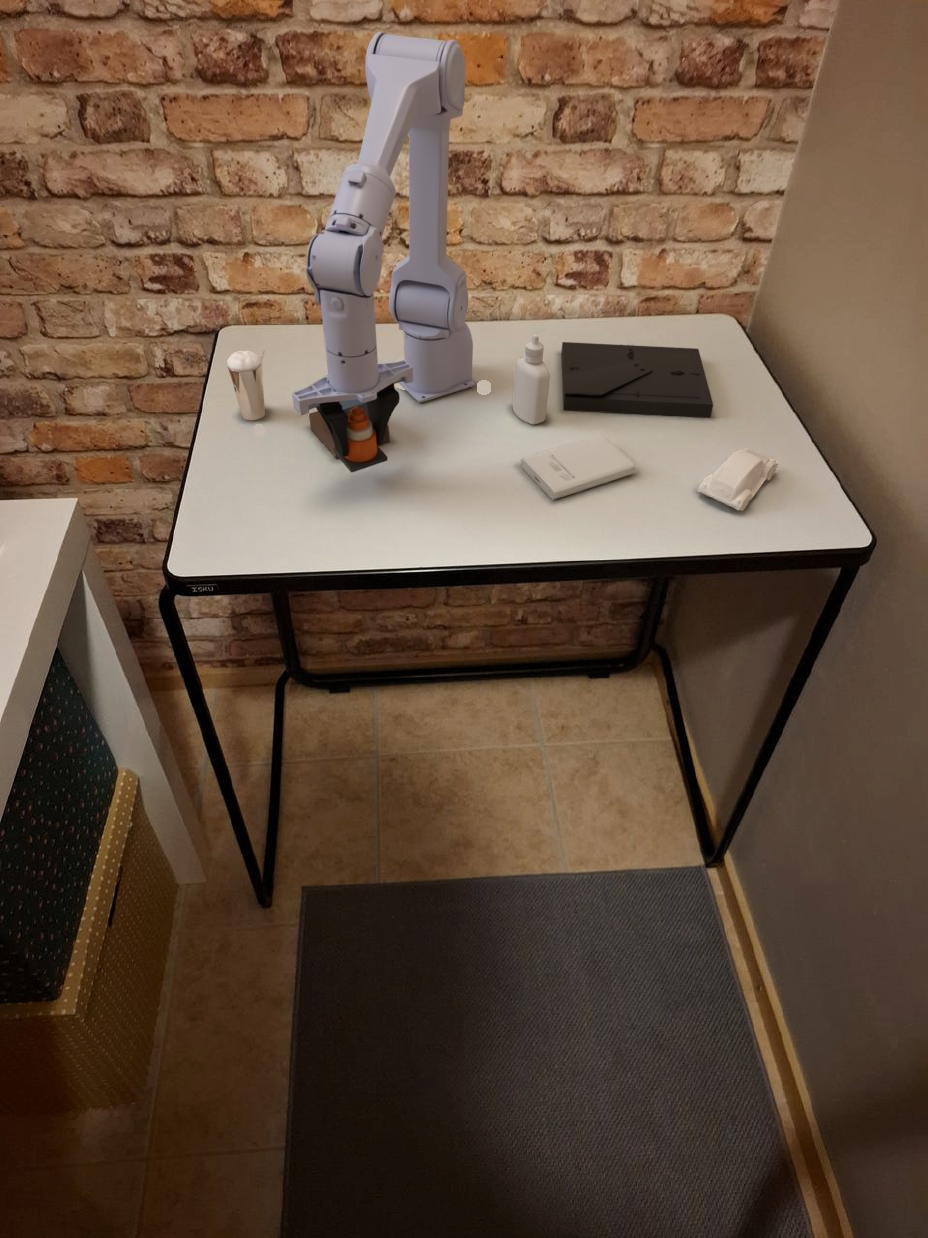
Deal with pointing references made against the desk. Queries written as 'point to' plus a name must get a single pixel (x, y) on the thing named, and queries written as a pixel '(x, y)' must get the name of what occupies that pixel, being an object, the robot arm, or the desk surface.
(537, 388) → the eye dropper bottle
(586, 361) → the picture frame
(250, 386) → the milkshake
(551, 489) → the hard drive
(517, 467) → the desk surface
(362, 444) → the cone
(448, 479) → the desk surface
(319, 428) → the base block
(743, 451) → the car
